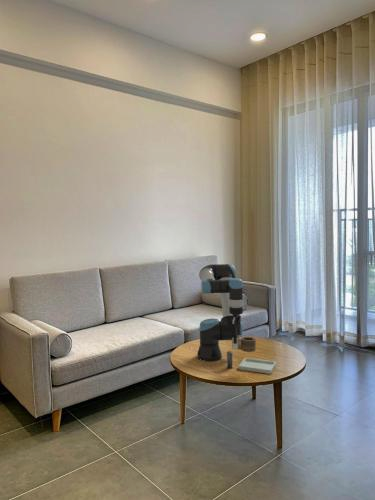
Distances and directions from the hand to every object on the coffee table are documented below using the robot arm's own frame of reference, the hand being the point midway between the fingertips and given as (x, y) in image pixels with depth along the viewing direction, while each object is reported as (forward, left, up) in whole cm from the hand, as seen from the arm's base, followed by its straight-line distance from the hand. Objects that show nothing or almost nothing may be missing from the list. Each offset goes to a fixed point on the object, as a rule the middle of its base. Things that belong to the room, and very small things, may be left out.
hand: (236, 347), depth 214 cm
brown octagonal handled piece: (+4, 0, 0) cm, 4 cm away
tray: (+10, +8, -13) cm, 18 cm away
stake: (-4, +1, -13) cm, 13 cm away
